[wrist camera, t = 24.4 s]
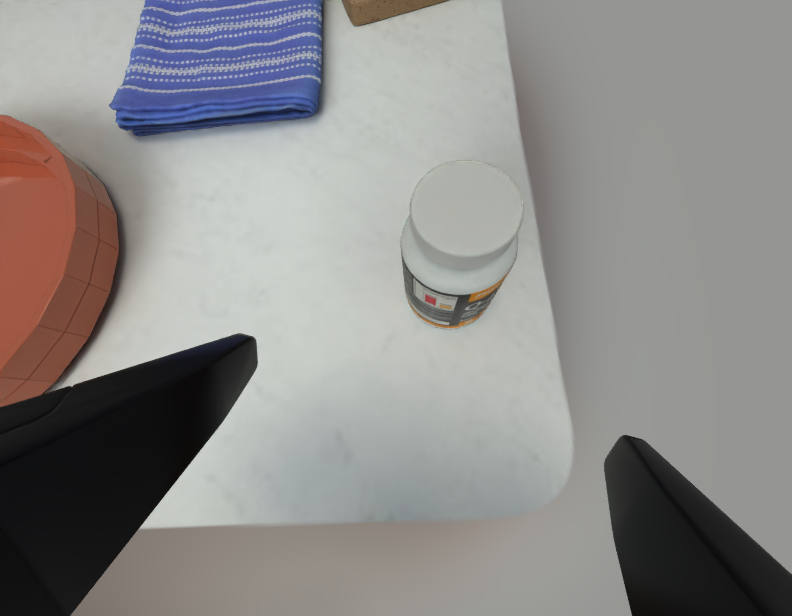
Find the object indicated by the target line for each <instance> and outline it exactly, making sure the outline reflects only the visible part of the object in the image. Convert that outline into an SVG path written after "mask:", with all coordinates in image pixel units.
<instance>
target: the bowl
mask: <svg viewBox="0 0 792 616" xmlns="http://www.w3.org/2000/svg"><path fill="white" fill-rule="evenodd" d="M118 254H119V241H118V227H117V215H116V212H115V209H114V207H113V205H112V203H111V200H110V198H109V196H108V193H107V191H106V189H105V187H104V184H103V183H102V182H101V181H100V180H99V179H98V178H97V177H96V176H95V175H94V174H93V173H92V172H91V171H90V170H89V169H88V168H87V167H86V166H85V165H84V164H83V163H82V162H81V161H80V160H78V159H77V158H76V157H74V156H73V155H72V154H70V153H69V152H68V151H66V150H65V149H64V148H62V147H61V146H60V145H58V144H57V143H56V142H55V141H53V140H52V139H51V138H49V137H48V136H47V135H45V134H44V133H43V132H41V131H40V130H38V129H36V128H34V127H32V126H30V125H27V124H25V123H23V122H21V121H19V120H16V119H14V118H12V117H10V116H7V115H0V407H2V406H5V405H9V404H13V403H16V402H19V401H23V400H26V399H29V398H33V397H36V396H39V395H41V394H42V393H44V392H45V391H46V390H47V389H48V388H49V387H50V386H51V385H53V384H54V383H55V382H56V380H57V379H58V378H59V376H60V375H61V374H62V373H63V371H64V370H65V369H66V367H67V366H68V365H69V363H70V362H71V361H72V359H73V358H74V357H75V355H76V354H77V353H78V352H79V350H80V349H81V348H82V346H83V345H84V344H85V342H86V341H87V340H88V337H89V336H90V334H91V332H92V330H93V328H94V326H95V324H96V322H97V320H98V317H99V315H100V313H101V311H102V309H103V307H104V305H105V303H106V301H107V299H108V297H109V294H110V293H109V292H110V291H111V287H112V282H113V277H114V273H115V268H116V263H117V259H118Z"/></svg>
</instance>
